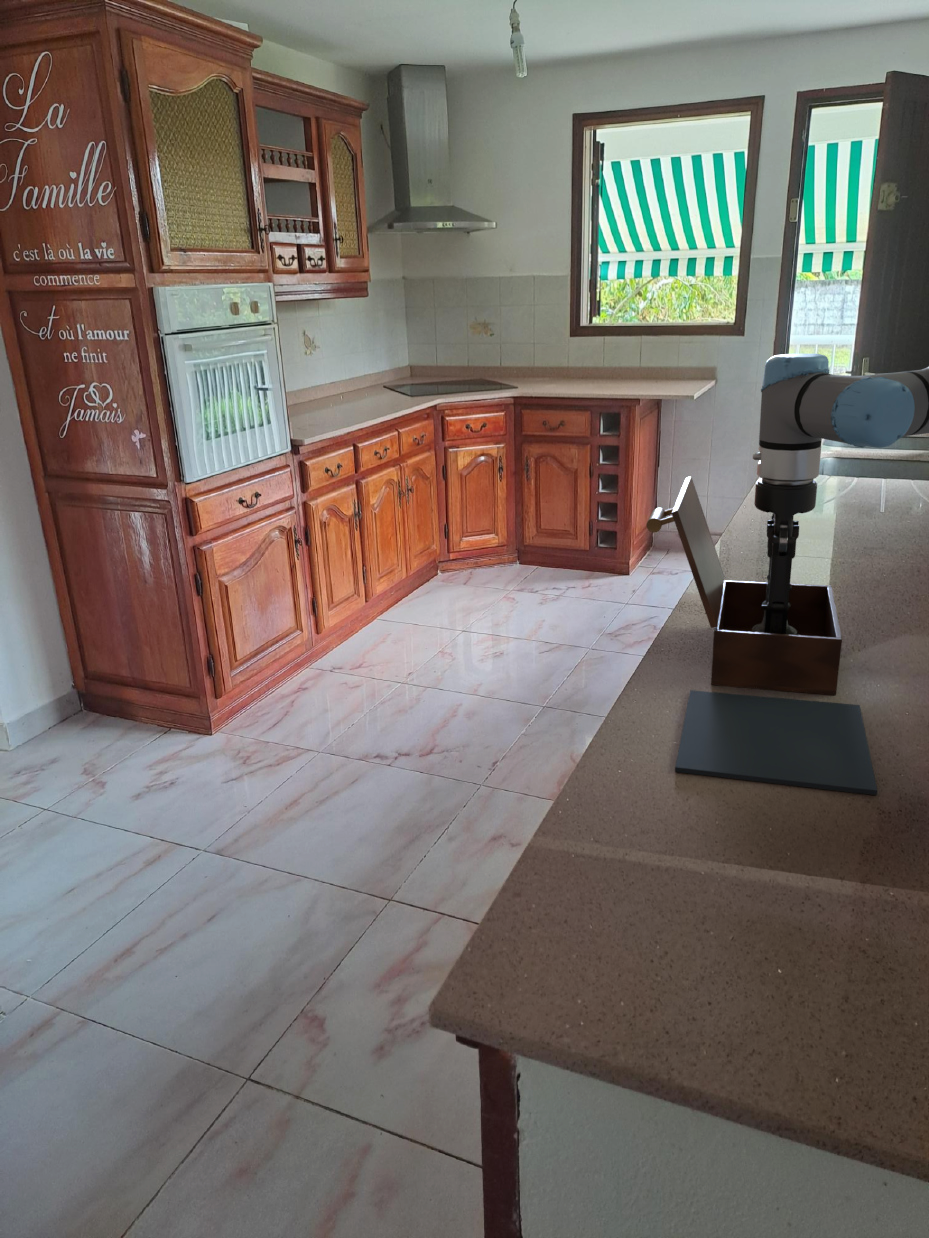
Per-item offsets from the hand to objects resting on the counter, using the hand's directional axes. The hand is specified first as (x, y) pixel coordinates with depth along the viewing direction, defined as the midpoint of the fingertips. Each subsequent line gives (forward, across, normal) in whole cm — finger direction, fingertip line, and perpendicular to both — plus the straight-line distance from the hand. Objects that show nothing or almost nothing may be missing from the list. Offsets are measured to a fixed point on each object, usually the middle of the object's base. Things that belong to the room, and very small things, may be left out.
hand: (773, 644), depth 122 cm
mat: (+2, +24, 0) cm, 24 cm away
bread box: (+2, 0, 0) cm, 2 cm away
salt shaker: (+2, 0, 0) cm, 2 cm away
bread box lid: (-14, 0, -10) cm, 17 cm away
